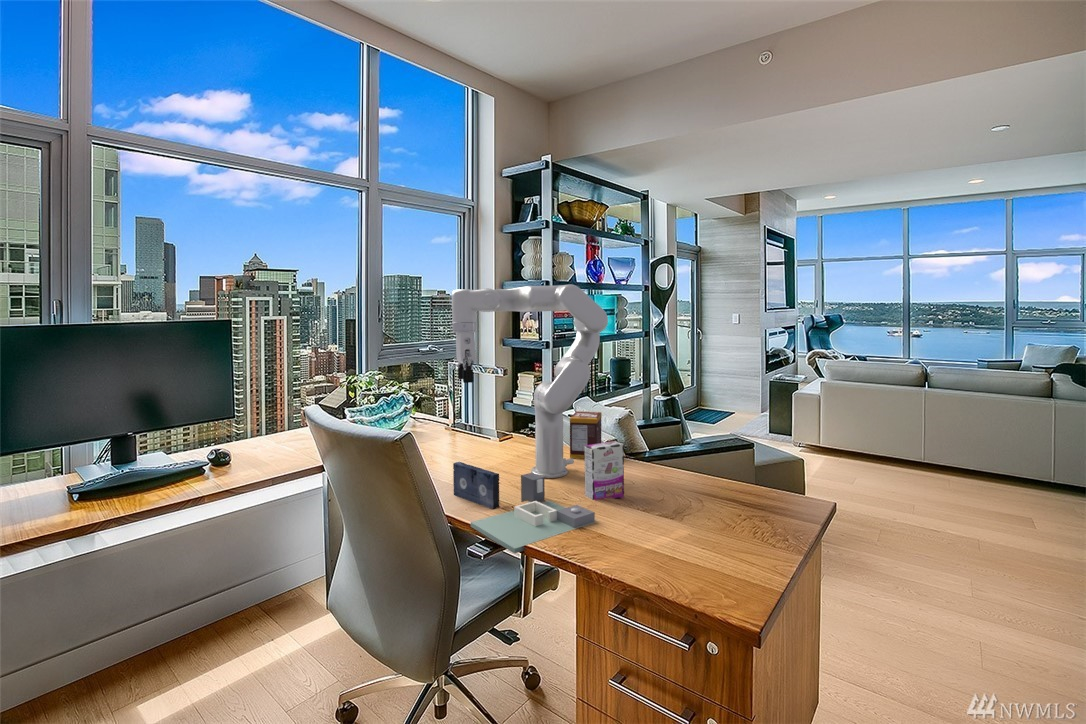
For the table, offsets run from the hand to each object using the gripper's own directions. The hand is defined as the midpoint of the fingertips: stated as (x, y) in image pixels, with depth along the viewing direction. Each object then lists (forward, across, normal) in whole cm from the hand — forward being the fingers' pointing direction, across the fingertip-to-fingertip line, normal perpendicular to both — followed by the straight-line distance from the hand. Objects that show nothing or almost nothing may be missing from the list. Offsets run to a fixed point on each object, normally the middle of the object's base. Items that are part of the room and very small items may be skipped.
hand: (465, 380), depth 176 cm
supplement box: (+34, +18, -50) cm, 63 cm away
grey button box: (+32, -47, -20) cm, 60 cm away
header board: (+33, -44, -10) cm, 56 cm away
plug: (+33, -28, -14) cm, 45 cm away
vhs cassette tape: (+34, -20, +1) cm, 39 cm away
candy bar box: (+34, -30, -35) cm, 58 cm away
